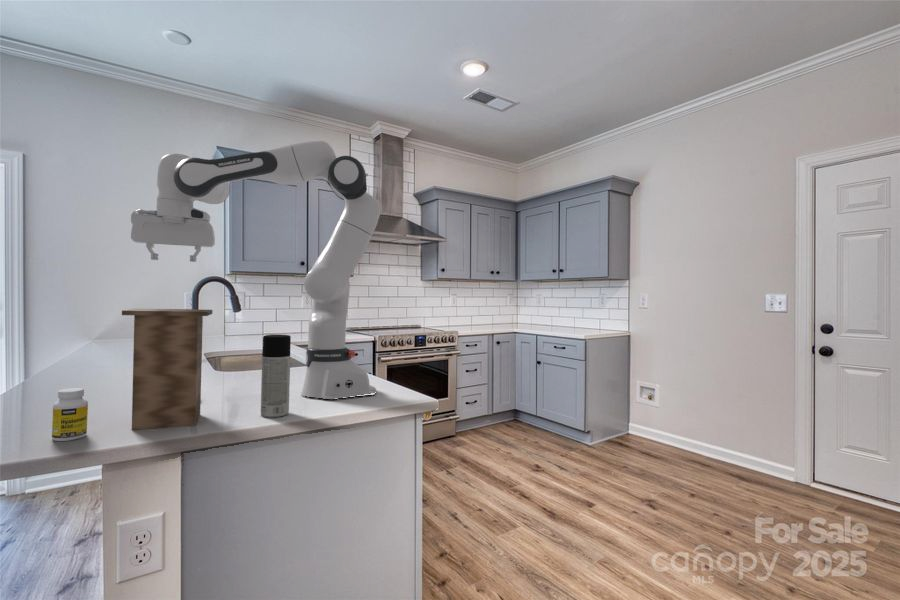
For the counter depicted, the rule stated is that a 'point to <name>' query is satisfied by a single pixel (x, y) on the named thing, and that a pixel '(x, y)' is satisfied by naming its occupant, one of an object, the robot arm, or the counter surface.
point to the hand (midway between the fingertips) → (174, 260)
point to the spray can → (275, 375)
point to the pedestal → (166, 367)
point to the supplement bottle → (70, 415)
